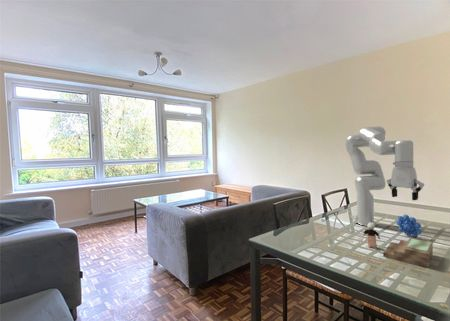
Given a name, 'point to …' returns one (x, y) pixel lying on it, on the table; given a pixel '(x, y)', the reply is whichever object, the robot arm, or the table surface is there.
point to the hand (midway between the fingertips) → (404, 198)
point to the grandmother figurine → (371, 236)
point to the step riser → (411, 252)
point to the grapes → (409, 225)
